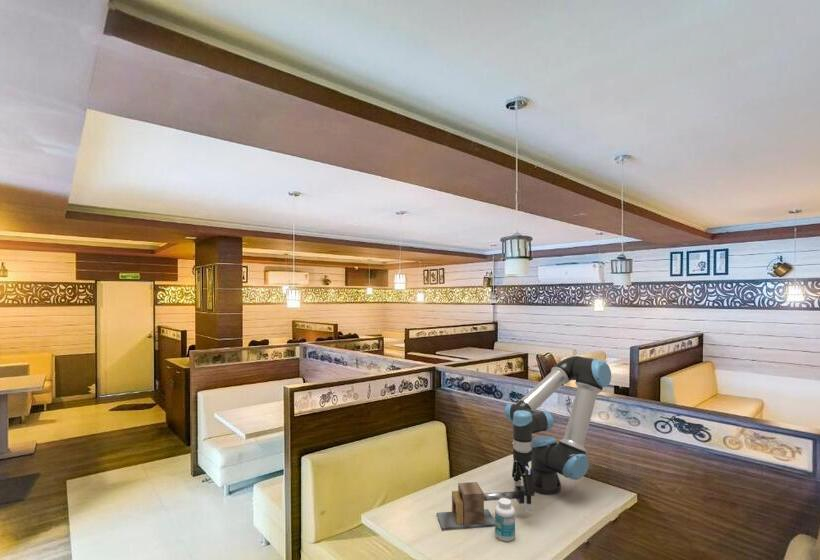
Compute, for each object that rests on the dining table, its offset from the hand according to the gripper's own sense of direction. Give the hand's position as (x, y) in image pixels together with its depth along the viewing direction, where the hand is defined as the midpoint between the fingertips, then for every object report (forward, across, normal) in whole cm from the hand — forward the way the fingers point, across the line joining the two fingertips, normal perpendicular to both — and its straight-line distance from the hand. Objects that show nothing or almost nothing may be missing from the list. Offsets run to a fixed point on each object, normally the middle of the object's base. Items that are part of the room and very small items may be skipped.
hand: (522, 503), depth 172 cm
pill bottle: (+5, +12, -12) cm, 18 cm away
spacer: (+4, 0, -28) cm, 28 cm away
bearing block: (+5, 0, -24) cm, 25 cm away
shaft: (-1, 0, -10) cm, 10 cm away
